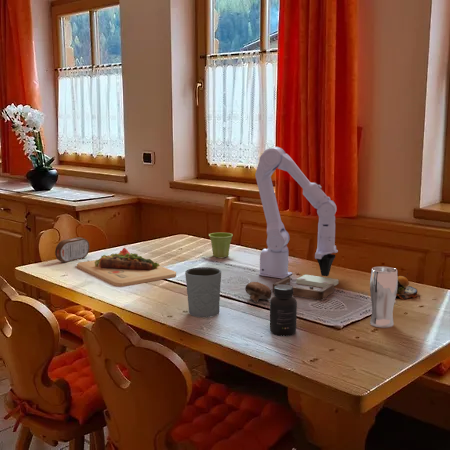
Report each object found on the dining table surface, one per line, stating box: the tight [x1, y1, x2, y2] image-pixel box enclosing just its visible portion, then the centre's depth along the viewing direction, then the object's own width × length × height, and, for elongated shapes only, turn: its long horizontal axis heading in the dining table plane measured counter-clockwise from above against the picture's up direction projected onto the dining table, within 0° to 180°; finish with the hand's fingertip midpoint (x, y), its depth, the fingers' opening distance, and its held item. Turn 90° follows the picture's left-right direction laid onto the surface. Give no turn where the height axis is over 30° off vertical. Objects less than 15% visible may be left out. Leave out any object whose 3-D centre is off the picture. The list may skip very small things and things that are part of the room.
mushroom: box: [244, 281, 272, 303], centre depth 182 cm, size 8×8×6 cm
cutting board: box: [76, 247, 177, 287], centre depth 216 cm, size 35×23×8 cm
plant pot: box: [208, 232, 234, 259], centre depth 240 cm, size 9×9×9 cm
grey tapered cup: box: [185, 266, 222, 318], centre depth 170 cm, size 10×10×12 cm
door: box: [295, 274, 339, 289], centre depth 201 cm, size 12×7×2 cm, turn 58°
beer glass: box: [369, 266, 398, 329], centre depth 160 cm, size 7×7×15 cm
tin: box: [54, 236, 90, 263], centre depth 232 cm, size 15×3×8 cm, turn 144°
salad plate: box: [396, 272, 418, 300], centre depth 189 cm, size 12×12×8 cm
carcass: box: [272, 276, 335, 301], centre depth 191 cm, size 16×10×3 cm, turn 59°
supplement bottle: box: [269, 284, 298, 337], centre depth 154 cm, size 7×7×12 cm
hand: (325, 275), depth 207 cm, fingers closed
